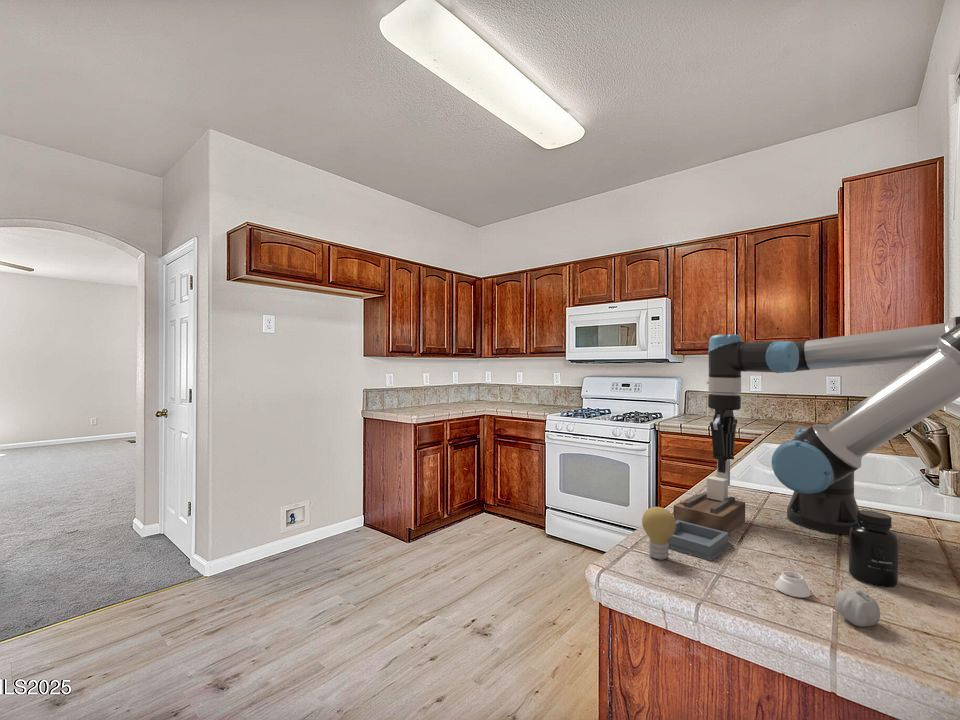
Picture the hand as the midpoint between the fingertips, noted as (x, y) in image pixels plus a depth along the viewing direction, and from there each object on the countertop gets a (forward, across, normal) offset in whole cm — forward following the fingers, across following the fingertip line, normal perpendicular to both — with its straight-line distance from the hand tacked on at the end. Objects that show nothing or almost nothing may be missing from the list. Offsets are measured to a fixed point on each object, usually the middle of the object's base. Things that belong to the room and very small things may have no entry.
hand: (723, 484), depth 117 cm
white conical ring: (+8, +34, +23) cm, 42 cm away
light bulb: (+8, +38, +1) cm, 39 cm away
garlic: (+8, +38, +32) cm, 50 cm away
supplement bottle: (+8, +18, +32) cm, 37 cm away
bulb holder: (+8, +26, +3) cm, 27 cm away
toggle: (+3, +5, 0) cm, 6 cm away
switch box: (+8, +10, 0) cm, 13 cm away
